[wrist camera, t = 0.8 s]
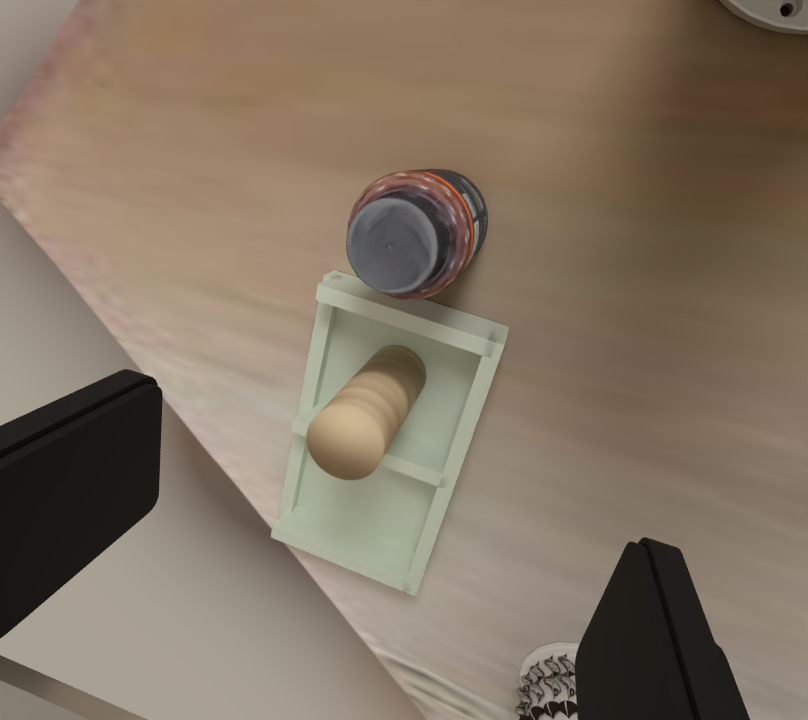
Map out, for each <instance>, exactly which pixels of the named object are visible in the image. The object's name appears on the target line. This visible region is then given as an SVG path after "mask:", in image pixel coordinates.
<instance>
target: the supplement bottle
mask: <svg viewBox="0 0 808 720" xmlns="http://www.w3.org/2000/svg"><path fill="white" fill-rule="evenodd" d="M487 225H488V212H487V208H486V204H485V201H484V199H483V197H482V195H481V193H480V191H479V190H478V189H477V187H476V186H475V185H474V184H473V183H472V182H471V181H470V180H469V179H468V178H466V177H465V176H463V175H461V174H459V173H456V172H454V171H450V170H443V169H426V170H407V171H400V172H395V173H391V174H388V175H386V176H384V177H382V178H380V179H378V180H377V181H375V182H373V183H372V184H371V185H369V186H368V187H367V188H366V189H365V190H364V192H363V193H362V194H361V195H360V196H359V198H358V199H357V201H356V203H355V205H354V207H353V209H352V212H351V215H350V218H349V222H348V231H347V241H346V249H347V255H348V259H349V262H350V264H351V267H352V268H353V270H354V272H355V273H356V275H357V276H358V277H359V278H360V279H361V280H362V281H363V282H364V283H365V284H366V285H368V286H369V287H371V288H373V289H375V290H377V291H379V292H380V293H382V294H384V295H386V296H389V297H391V298H395V299H399V300H404V301H405V300H411V301H412V300H419V299H425V298H429V297H431V296H433V295H435V294H437V293H439V292H441V291H443V290H444V289H445V288H447V287H448V286H449V285H450V284H452V283H453V282H454V280H455V279H456V278H457V277H458V276H459V275H460V274H461V272H462V271H463V270H464V268H465V267H466V266H467V265H468V263H469V262H470V261H471V259H472V258H473V257H474V256H475V255H476V253H477V252H478V250H479V249H480V247H481V245H482V243H483V241H484V239H485V236H486V232H487Z"/></svg>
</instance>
